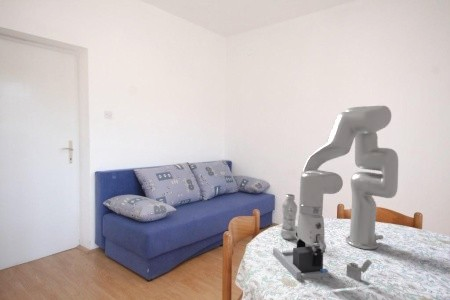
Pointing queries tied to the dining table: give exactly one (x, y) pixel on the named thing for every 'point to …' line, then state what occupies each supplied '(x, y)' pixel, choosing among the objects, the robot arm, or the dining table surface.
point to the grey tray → (287, 262)
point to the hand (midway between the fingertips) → (308, 259)
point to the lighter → (357, 270)
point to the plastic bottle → (289, 218)
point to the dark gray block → (305, 259)
